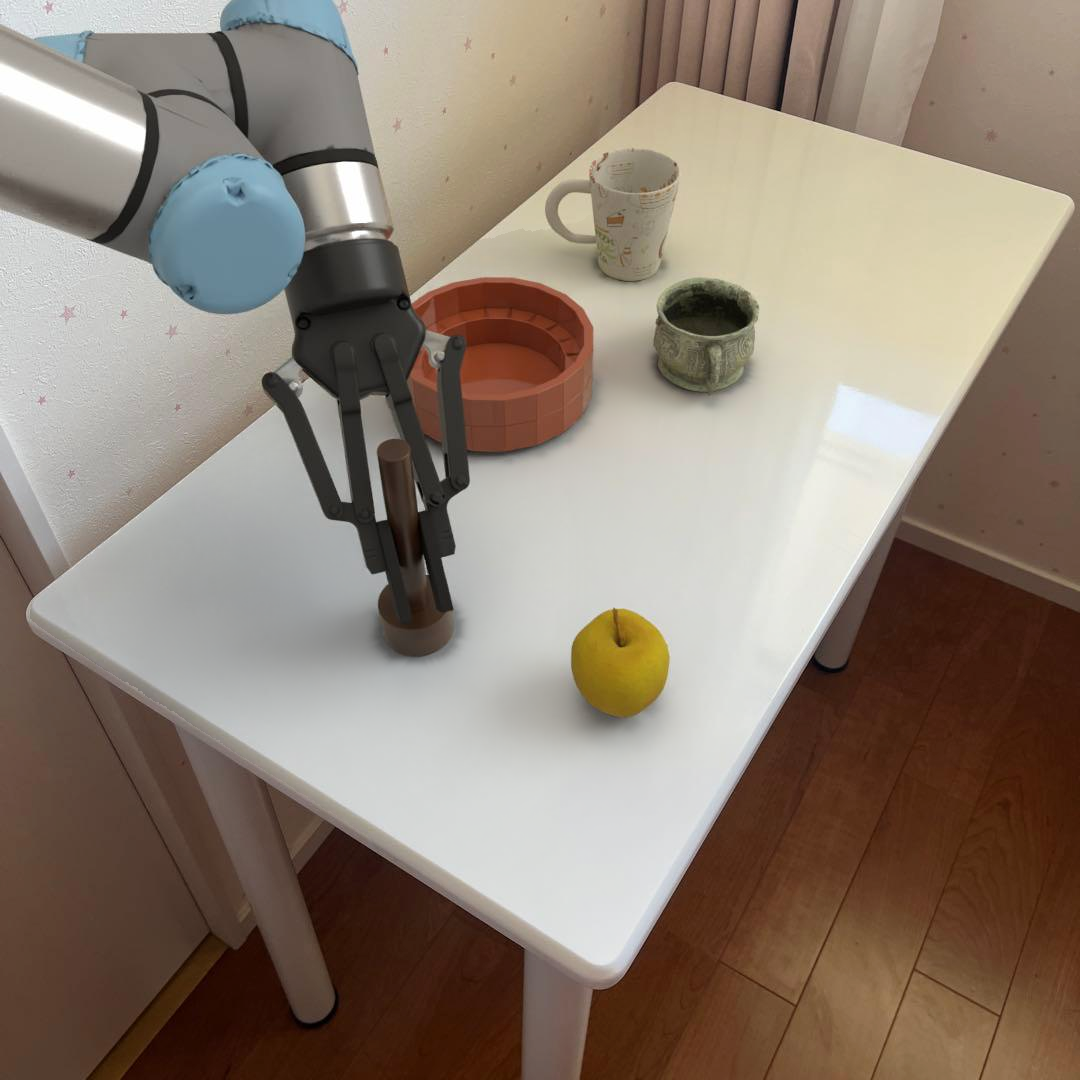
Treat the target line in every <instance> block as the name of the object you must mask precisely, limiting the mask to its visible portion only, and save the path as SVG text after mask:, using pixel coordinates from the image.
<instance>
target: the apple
mask: <svg viewBox="0 0 1080 1080" xmlns="http://www.w3.org/2000/svg"><path fill="white" fill-rule="evenodd" d="M670 658H671V655H670V652H669V645H668V644H667V642H666V639H665V638H664V636H663V634H662V633H661V632H660V630H659V629H658V628H657V627H656V626H655V625H654V624H653V623H652V622H651V621H649V620H648V619H646V618H645V617H644V616H642V615H640V614H639V613H637V612H635V611H632V610H630V609H627V608H615V607H613V608H611V609H608V610H606V611H603V612H601V613H600V614H598V615H597V616H596V617H594V618H592V620H591V621H590V622H588V623H587V624H586V625H585V626H584V627H583V628H581V630H579V632H578V633H577V634H576V636H575V637H574V639H573V641H572V645H571V648H570V667H571V673H572V677H573V680H574V683H575V685H576V688H577V689H578V691H579V693H580V695H581V696H582V697H583V699H584V700H585V701H586V702H587V703H588V704H589V705H590V706H591V707H593V708H595V709H597V710H598V711H600V712H602V713H604V714H606V715H611V716H614V717H619V718H631V717H634V716H636V715H638V714H641V713H642V712H644V711H645V710H647V709H648V708H649V707H650V706H651V705H652V704H653V703H654V702H655V701H657V699H658V698H659V696H660V695H661V693H662V692H663V691H664V688H665V685H666V683H667V680H668V675H669V668H670V660H671V659H670Z"/></svg>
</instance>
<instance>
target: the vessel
mask: <svg viewBox="0 0 1080 1080" xmlns="http://www.w3.org/2000/svg"><path fill="white" fill-rule="evenodd" d="M656 312H657V318H656V319H655V325H656V326H655V329H654V335H653V347H654V349H655V351H656V353H657V355H658V362H657V368H658V369H659V371H660V373H661V375H662V376H663V377H664V378H665V379H667V380H668V381H669V382H671V383H672V385H676V386H678V387H680V388H683V389H685V390H689V391H693V392H701V393H707V395H708V396H712V395H713V394H714V392H715V391H720V390H723V389H726V388H728V387H730V386H731V385H733V384H734V383H736V382H737V381H738V380H739V379H740V378H741V377H742V375H743V374H744V371H745V364H746V363H747V362H748V361H749V359H750V358H751V357H752V355H753V353H754V349H755V340H756V330H755V324H756V323H757V322H758V321H759V316H760V314H759V313H760V306H759V303H758V301H757V300H756V299H755V297H754V296H753V295H752V293H751V292H750V291H748V290H747V289H745V288H743V287H742V286H740V285H738V284H736V283H732V282H730V281H727V280H724V279H719V278H713V277H711V278H710V277H692V278H686V279H682V280H679V281H677V282H675V283H673V284H672V285H670V286H668V287H667V288H665V289H664V290H663V291H662V292H661V293H660V295H659V296H658V298H657V302H656Z"/></svg>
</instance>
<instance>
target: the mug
mask: <svg viewBox="0 0 1080 1080" xmlns="http://www.w3.org/2000/svg"><path fill="white" fill-rule="evenodd" d="M588 173H589V175H588V179H581V178H580V179H579V178H577V179H576V178H575V179H574V178H573V179H566V180H563V181H561V182H559V183H558V184H557V185H556V186H555V187H553V188H552V189H551V191H550V192H549V194H548V196H547V198H546V200H545V205H544V213H545V214H544V215H545V219H546V220H547V223H548V225H549V226H550V228H551V229H552V230H553V231H554V232H555V233H556V234H558V236H560V237H561V238H563V239H564V240H566V241H568V242H571V243H574V244H580V245H581V244H582V245H584V244H585V245H591V244H592V245H593V244H596V245H595V246H596V255H597V262H598V267H599V269H600V270H601V271H602V272H603V273H604V274H605V275H607V276H608V277H610V278H612V279H615V280H617V281H624V282H625V281H626V282H637V281H642V280H645V279H648V278H650V277H652V276H654V275H655V274H656V273H657V272H658V270H659V269H660V265H661V262H662V259H663V253H664V249H665V245H666V241H667V237H668V233H669V228H670V223H671V220H672V215H673V211H674V207H675V203H676V198H677V194H678V191H679V185H680V182H681V181H680V180H681V169H680V166H679V164H678V163H677V162H676V161H675V160H674V159H673V158H672V157H670V156H669V155H667V154H664V153H662V152H660V151H657V150H653V149H648V148H643V147H642V148H641V147H625V148H618V149H613V150H610V151H606V152H604V153H602V154H600V155H599V156H598V157H596V158H595V159H594V160H593V161H592V162H591V164H590V166H589V171H588ZM572 193H573V194H574V193H578V194H579V193H580V194H589V195H590V199H591V206H592V216H593V225H594V234H595V235H591V234H582V233H581V234H579V233H574V232H572V231H571V230H569V229H568V228H567V226H566V225H564V223H563V222H562V219H561V218H560V215H559V205H560V203H561V201H563V199H564V198H565V197H566V196H567V195H569V194H572Z"/></svg>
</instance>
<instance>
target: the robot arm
mask: <svg viewBox="0 0 1080 1080" xmlns="http://www.w3.org/2000/svg"><path fill="white" fill-rule="evenodd" d="M219 18H220V19H219V27H220V30H217V31H215V32H122V33H121V32H111V33H110V32H95V31H93V30H83V31H82V32H79V33H67V34H56V35H45V36H37V37H34V38H32V37H29V36H28V35H25V34H22V33H21V32H18V31H17V30H14V29H12V28H10V27H8V26H6V25H4V24H1V23H0V210H1V211H4V212H7V213H10V214H12V215H15V216H18V217H21V218H24V219H26V220H30V221H32V222H36V223H37V224H41V225H43V226H47V227H49V228H52V229H55V230H58V231H61V232H64V233H67V234H70V235H72V236H75V237H78V238H81V239H83V240H86V241H88V242H89V241H90V242H93V243H95V244H98V245H100V246H103V247H106V248H108V249H111V250H113V251H116V252H119V253H122V254H124V255H126V256H130V257H132V258H135V259H138V260H141V261H144V262H146V263H148V264H150V265H152V270H153V272H154V274H155V275H156V276H157V279H159V280H160V281H161V282H162V283H163V284H165V286H167V287H169V288H170V290H171V291H172V292H173V293H174V294H175V295H176V296H177V297H178V298H180V299H181V300H182V301H183V302H185V303H186V304H188V305H189V306H191V307H193V308H195V309H197V310H199V311H202V312H205V313H208V314H215V315H235V314H241V313H242V314H243V313H247V312H249V311H253V310H256V309H258V308H259V307H262V306H264V305H266V304H267V303H269V302H271V301H272V300H273V299H275V298H276V297H278V296H279V295H280V294H281V293H282V292H283V291H284V294H285V298H286V303H287V307H288V311H289V314H290V319H291V322H292V327H293V330H294V331H293V333H294V337H293V342H292V345H291V357H290V358H289V359H287V360H286V361H285V362H284V363H282V365H280V366H279V367H278V368H277V369H275V370H274V371H269V372H266V373H265V374H264V375H263V376H262V378H261V387H262V391H263V392H264V394H265V395H266V396H267V397H268V398H269V399H270V400H271V402H272V403H273V405H275V407H276V408H278V409H279V411H280V412H281V413H282V414H283V417H284V419H285V422H286V424H287V427H288V429H289V432H290V434H291V437H292V439H293V442H294V444H295V447H296V449H297V452H298V454H299V457H300V459H301V462H302V464H303V466H304V470H305V471H306V473H307V476H308V478H309V482H310V483H311V487H312V489H313V491H314V494H315V496H316V499H317V501H318V504H319V506H320V508H321V512H322V514H323V516H324V517H325V518H326V519H327V520H330V521H336V522H345V523H349V524H351V525H353V526H354V527H355V529H356V531H357V535H358V539H359V544H360V548H361V552H362V556H363V559H364V563H365V567H366V569H367V571H369V573H370V574H371V575H376V574H381V573H385V576H386V579H387V584H388V585H389V589H390V593H391V597H392V601H393V606H394V610H395V614H396V618H397V621H399V622H400V623H401V624H402V623H406V622H410V621H413V619H412V615H411V611H410V607H409V603H408V599H407V594H406V590H405V586H404V582H403V578H402V574H401V570H400V565H399V561H398V557H397V553H396V549H395V545H394V540H393V536H392V532H391V528H390V524H389V520H387V519H382V520H379V521H377V518H376V510H375V502H374V497H373V489H372V483H371V482H372V481H371V474H370V467H369V459H368V453H367V447H366V439H365V432H364V425H363V417H362V406H361V401H362V400H364V399H366V398H368V397H371V396H375V397H376V396H377V397H378V396H379V397H384V398H385V401H386V403H387V404H386V405H387V407H388V409H389V411H390V413H391V415H392V418H393V422H394V424H395V428H396V430H397V433H398V437H399V439H401V440H404V441H406V442H407V443H408V444H409V446H410V448H411V456H412V464H413V473H414V481H415V486H416V488H417V491H418V493H419V497H420V499H421V502H422V505H423V507H424V510H421V511H418V515H419V523H420V532H421V540H422V548H423V555H424V563H425V568H426V571H427V575H428V576H429V580H430V584H431V588H432V592H433V597H434V601H435V605H436V609H437V610H438V611H440V612H441V613H444V612H448V611H452V612H453V611H454V610H455V609H454V605H453V600H452V596H451V592H450V588H449V584H448V581H447V575H446V572H445V568H444V563H443V560H442V558H446V557H449V556H453V555H455V554H456V548H457V547H456V541H455V538H454V533H453V529H452V525H451V520H450V516H449V512H448V504H449V501H450V500H451V499H452V498H453V497H455V496H457V495H458V494H459V493H461V492H462V491H464V490H466V489H468V487H469V486H470V483H471V482H470V481H471V479H470V478H471V477H470V469H469V457H468V456H469V455H468V450H467V444H466V434H465V423H464V412H463V401H462V391H461V380H460V369H461V366H462V362H463V358H464V354H465V350H466V345H467V343H466V340H465V339H464V337H463V336H461V335H453V336H452V337H448V336H445V335H442V334H439V333H435V332H432V331H429V330H426V327H425V324H424V322H423V321H422V320H421V318H420V317H419V316H418V315H417V314H416V312H415V311H414V309H413V307H412V304H411V303H412V300H411V297H410V296H411V295H410V292H409V287H408V284H407V279H406V275H405V271H404V266H403V262H402V257H401V254H400V250H399V247H398V245H396V244H394V242H393V241H391V240H389V239H390V238H391V237H392V235H393V233H394V231H395V227H394V224H393V223H394V222H393V220H392V216H391V212H390V208H389V203H388V199H387V196H386V192H385V187H384V184H383V180H382V176H381V172H380V168H379V163H378V160H377V157H376V153H375V149H374V144H373V141H372V140H373V139H372V136H371V131H370V127H369V122H368V117H367V112H366V108H365V103H364V99H363V95H362V90H361V85H360V80H359V69H358V68H359V67H358V62H357V60H356V58H355V56H354V53H353V50H352V46H351V43H350V39H349V37H348V36H349V35H348V32H347V29H346V27H345V24H344V23H343V19H342V16H341V13H340V9H338V6H337V4H336V3H335V2H334V0H229V2H227V4H226V5H225V6H224V7H223V9H222V11H221V14H220V17H219ZM421 347H422V348H424V349H425V350H426V351H427V352H428V360H429V364H430V365H431V366H432V367H433V368H436V369H437V394H438V405H439V415H440V426H441V437H442V443H441V447H442V458H443V466H444V468H443V469H444V478H443V479H442V480H440V477H439V474H438V472H437V468H436V466H435V462H434V460H433V457H432V455H431V451H430V448H429V446H428V442H427V440H426V435H425V434H424V433H423V431H422V428H421V425H420V422H419V419H418V416H417V413H416V410H415V407H414V404H413V401H412V396H411V392H410V389H409V386H408V384H407V380H408V379H409V376H410V374H411V371H412V369H413V367H414V364H415V362H416V359H417V357H418V355H419V352H420V350H421ZM302 372H303V373H304V374H305V375H306V376H308V377H309V378H310V379H311V380H312V381H313V382H315V384H317V385H318V386H319V387H320V388H322V389H323V390H324V391H325V392H326V393H327V394H329V395H330V396H331V397H332V398H333V399H334V400H336V406H337V413H338V418H339V423H340V430H341V437H342V444H343V451H344V458H345V465H346V474H347V480H348V487H349V494H350V501H351V502H348V501H342V500H341V497H340V494H339V492H338V490H337V488H336V485H335V482H334V480H333V478H332V475H331V473H330V470H329V467H328V465H327V462H326V460H325V458H324V455H323V452H322V449H321V447H320V445H319V443H318V440H317V438H316V435H315V433H314V430H313V427H312V424H311V423H310V420H309V418H308V417H309V416H308V415H307V412H306V410H305V407H304V405H303V403H302V402H301V400H300V397H301V396H302V394H303V389H304V386H303V384H302V382H301V378H300V377H301V374H302Z"/></svg>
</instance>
